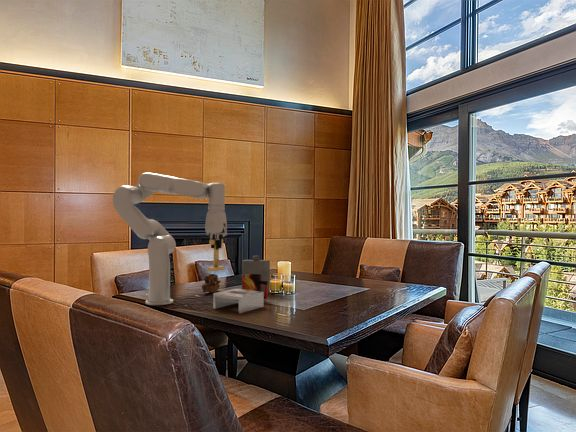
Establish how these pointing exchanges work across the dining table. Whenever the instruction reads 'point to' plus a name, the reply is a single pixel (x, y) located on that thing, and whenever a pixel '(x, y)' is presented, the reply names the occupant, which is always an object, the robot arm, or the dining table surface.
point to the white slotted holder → (239, 299)
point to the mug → (254, 283)
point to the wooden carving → (211, 283)
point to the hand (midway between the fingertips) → (216, 247)
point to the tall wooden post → (215, 258)
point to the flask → (258, 270)
